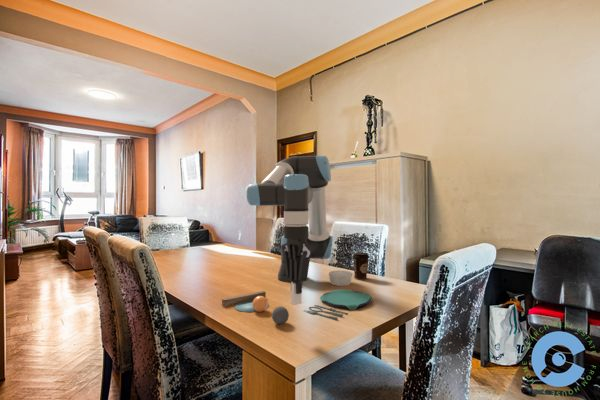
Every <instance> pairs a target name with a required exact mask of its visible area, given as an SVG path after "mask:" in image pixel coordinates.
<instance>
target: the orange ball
mask: <svg viewBox="0 0 600 400" xmlns="http://www.w3.org/2000/svg"><path fill="white" fill-rule="evenodd" d="M268 304H269V302H268V299H267V298H265V297H263V296H257V297H256V298H255V299H254V300H253V308H254V309H255V310H256V311H257V312H259V313H260V312H264V311H265V310H267V309H268V308H267V305H268Z"/></svg>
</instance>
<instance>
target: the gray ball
mask: <svg viewBox="0 0 600 400" xmlns="http://www.w3.org/2000/svg"><path fill="white" fill-rule="evenodd" d="M289 316H290V314H289V310H288V309H287V308H286V307H285V306H281V305H279V306H276V307H275V308H274V309H273V310H272V313H271V318H272V321H273V322H274V323H275V324H277V325H284V324H285V323H287V322H288V320H289Z"/></svg>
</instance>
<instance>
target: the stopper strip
mask: <svg viewBox="0 0 600 400" xmlns="http://www.w3.org/2000/svg"><path fill="white" fill-rule="evenodd" d="M257 296H263V297H265V298H266V297H267V296H266V291H264V290H260V291H255V292H250V293H246V294H241V295H235V296H229V297H224V298H221V306H222V307H224V308H225V307H229V306H235V305H236V304H237V303H242V302H247V301H251V300H254V299H255V298H256V297H257ZM266 299H267V298H266Z"/></svg>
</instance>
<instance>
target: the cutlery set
mask: <svg viewBox="0 0 600 400" xmlns="http://www.w3.org/2000/svg"><path fill="white" fill-rule="evenodd" d="M319 299H320V301H321V303H325V304H327V305H329V306H333V307H337V308H348V309H349V310H350V311H353V310H356V309H358V307H362V306H363V307H364V306H365V305H368V304H369V303H371V302H372V300H373V297H372V296H371V295H370V294H368V293H366V292H362V291H357V290H351V289H347V288H346V289H333V290H332V291H328V292H325V293H324V294H322V295H320V297H319ZM308 309H310V310H307V309H305V310H303V312H304V313H307V314H311V315H317V316H319V317H324V318H327V319H329V320H335V321H338V317H341V318H342V317H344V314H345V315H348V312H345V311H341V310H338V309H336V308H332V307H330V308H329V307H326V306H323V305H319V304H314V306H310V307H308ZM313 309H318V310H313ZM323 309H325V310H323ZM327 310H328V311H327ZM322 313H326V315H325V314H322ZM327 314H331V315H327ZM337 316H338V317H337Z"/></svg>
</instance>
